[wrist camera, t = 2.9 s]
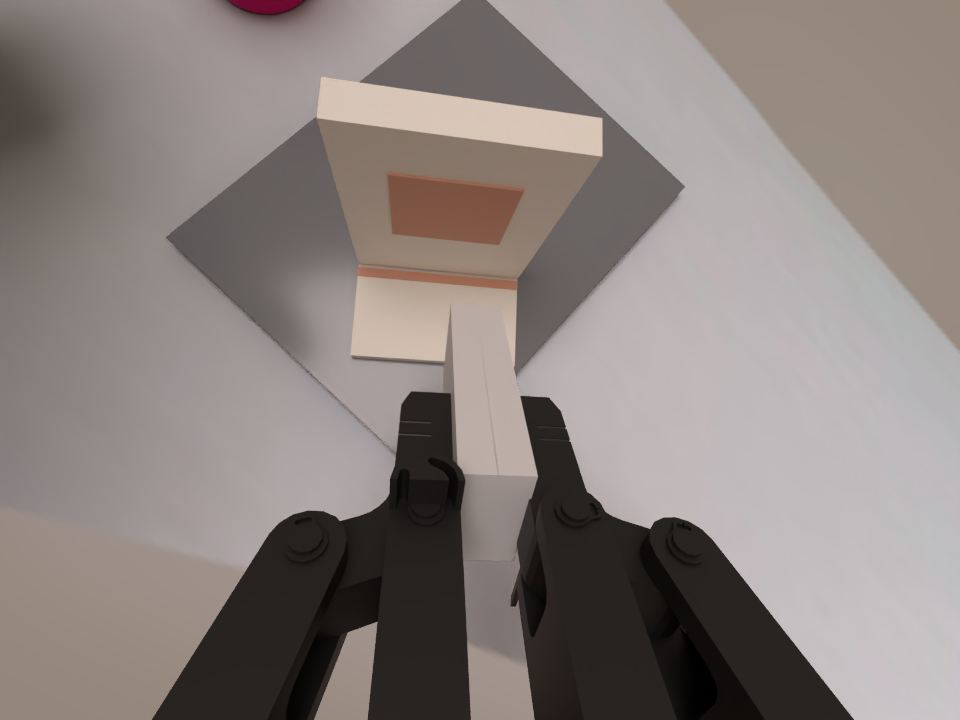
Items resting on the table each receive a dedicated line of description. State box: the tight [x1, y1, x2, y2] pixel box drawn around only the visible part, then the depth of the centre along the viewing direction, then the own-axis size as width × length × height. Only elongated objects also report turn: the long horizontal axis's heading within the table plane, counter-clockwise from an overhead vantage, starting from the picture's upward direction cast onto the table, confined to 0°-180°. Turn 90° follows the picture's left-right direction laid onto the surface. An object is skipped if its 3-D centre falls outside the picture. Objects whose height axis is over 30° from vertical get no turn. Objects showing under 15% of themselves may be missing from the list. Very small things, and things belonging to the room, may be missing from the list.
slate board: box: [166, 0, 685, 453], centre depth 29 cm, size 19×25×1 cm
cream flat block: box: [317, 77, 602, 278], centre depth 21 cm, size 2×9×12 cm, turn 88°
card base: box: [350, 263, 518, 366], centre depth 27 cm, size 7×9×1 cm
